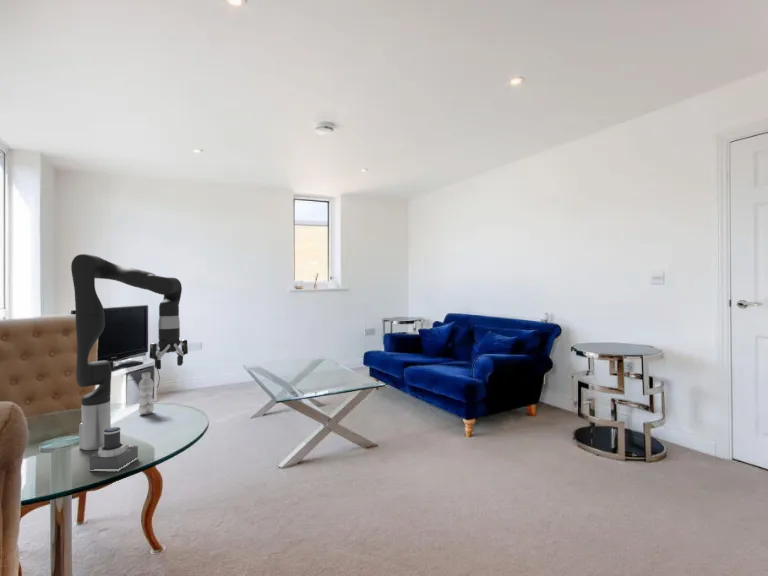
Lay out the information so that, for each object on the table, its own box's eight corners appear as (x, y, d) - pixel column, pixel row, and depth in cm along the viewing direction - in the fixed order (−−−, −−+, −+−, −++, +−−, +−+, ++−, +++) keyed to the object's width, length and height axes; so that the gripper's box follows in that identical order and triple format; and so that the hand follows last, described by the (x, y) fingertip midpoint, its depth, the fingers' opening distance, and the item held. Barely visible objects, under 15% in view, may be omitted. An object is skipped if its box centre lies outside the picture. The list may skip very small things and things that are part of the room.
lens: (107, 456, 136) (107, 432, 136) (101, 453, 139) (101, 429, 139) (123, 451, 140) (123, 428, 140) (116, 448, 143) (116, 425, 143)
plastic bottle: (150, 411, 200) (150, 371, 200) (156, 413, 196) (156, 373, 196) (136, 414, 195) (136, 373, 195) (141, 417, 191) (141, 375, 191)
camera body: (89, 471, 136) (89, 451, 136) (111, 458, 146) (111, 439, 146) (118, 472, 136) (118, 451, 136) (137, 459, 146) (137, 440, 146)
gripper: (156, 329, 153) (156, 371, 154) (191, 326, 165) (191, 365, 165) (145, 328, 157) (146, 369, 158) (181, 324, 169) (181, 363, 170)
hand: (169, 367), depth 162 cm, fingers open, 8 cm apart
